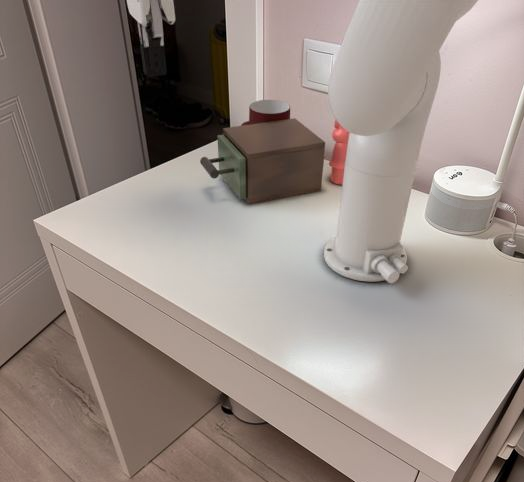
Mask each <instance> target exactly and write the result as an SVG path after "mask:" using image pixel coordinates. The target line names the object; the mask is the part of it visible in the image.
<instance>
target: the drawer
mask: <svg viewBox="0 0 524 482" xmlns="http://www.w3.org/2000/svg"><path fill="white" fill-rule="evenodd" d="M217 155H218V156H217V157H215V158H208V157H207V156H203V157H201V158H200V159H199V163H200V165H201V166H202V167H203V169H204V170H205V171H206V173H207V174H208V175H209V177H210V178H211V179H214V180H215V179H217V178H218V177H219V175H220V176H221V178H222V179H223V180H224V181H225V183H226V184H227V185H228V186H229V188H230V189H231V190H232V192H234V194H235V195H236V196H237V197H238V199H239V200H245V198H246V188H247V176H246V158H245V157H244V156H243V153H242V152H241V151H240V150H239V149H238V148H237V147H236V146H235V144H234V143H233V142H232V143H231V142H230V141H229V140H228V139H227V138H226V137H225V136H224V135H223V134H218V135H217ZM214 163H215V164H216V163H218V169H217V168H216V166H215V165H214Z"/></svg>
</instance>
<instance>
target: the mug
mask: <svg viewBox="0 0 524 482" xmlns="http://www.w3.org/2000/svg"><path fill="white" fill-rule="evenodd" d="M248 107H249V110H248V120H247V121H243V123H241V124H240V126H243V125H250V124H257V123H265V122H272V121H279V120H286V119H291V106H290V104H289V103H287V102H285V101H282V100H279V99H278V100H277V99H261V100H256V101H254V102H251V103H250V104H249V106H248Z"/></svg>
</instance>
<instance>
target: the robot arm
mask: <svg viewBox="0 0 524 482" xmlns="http://www.w3.org/2000/svg"><path fill="white" fill-rule="evenodd" d="M478 1H479V0H359V1H358V3H357V6H356V8H355V10H354V13H353V15H352V17H351V21H350V23H349V25H348V28H347V29H346V32H345V35H344V37H343V40H342V43H341V45H340V48H339V49H338V52H337V55H336V57H335V59H334V61H333V62H334V63H333V65H332V68H331V70H330V71H331V72H330V74H329V79H328V87H327V95H328V96H327V97H328V103H329V108H330V111H331V113H332V115H333V117H334V119H336V120H337V122H338V123H339V124H340V125H341V126H342V127H343V128H344V129H345V130H347V131H348V132H350V133H349V139H348V146H347V154H346V161H345V168H344V177H343V185H342V187H341V195H340V204H339V212H338V221H337V229H336V236H334V237H333V238H331V239H330V240H329V241H328V242H327V243H326V245H325V247H324V252H323V259H324V261H325V263H326V264H327V266H328V267H329V268H330V269H331V270H332V271H334V272H335V273H336V274H338V275H340V276H342V277H345V278H348V279H351V280H354V281H359V282H360V281H361V282H383V281H386V282H387V283H389V284H394V283H396V282H397V281H398V280H399V278H400V274H405V273H406V272H407V271H408V270H409V266H408V265H407V262H408V254H407V252H406V250H405V249H404V246H403V244H401V241H402V235H403V230H404V227H405V222H406V217H407V212H408V208H409V204H410V203H409V202H410V197H411V193H412V188H413V184H414V180H415V175H416V169H417V166H418V161H419V157H420V153H421V148H422V145H423V140H424V136H425V132H426V128H427V125H428V121H429V117H430V114H431V110H432V107H433V104H434V101H435V98H436V94H437V90H438V87H439V82H440V78H441V71H442V70H441V68H442V61H441V53H440V50H441V48H442V46H443V45H444V43H445V41H446V39H447V37H448V36H449V35H450V33H451V30H453V27H454V26H455V24H456V22H458V21H459V20H460V19H461V18H463V17H464V16H465V15H466V14H467V13H469V12H470V11H471V10H472V9H473V8H474V6H475V5H476V4H477V3H478ZM126 5H127V8H128V13H129V15H131V17H132V18H133V19H135V21H136V22H137V29H138V35H139V36H138V37H139V41H140V53H141V61H142V69H143V73H144V75H146V76H147V77H148V78H149V77H157V76H158V77H160V76H166V75H167V72H168V70H167V61H166V60H167V59H166V51H165V41H164V28H163V26H164V25H163V20H164V22H166V23H167V24H169V25H174V24H175V22H176V13H175V5H174V0H126Z"/></svg>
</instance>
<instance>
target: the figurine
mask: <svg viewBox="0 0 524 482" xmlns="http://www.w3.org/2000/svg"><path fill="white" fill-rule="evenodd" d="M334 119H335V118H334ZM333 126H334V129H333V130H332V132H331V137H332V140H333V141H334V142H335V143H334V145H333V149H332V153H331V154H332V155H331V158H330V160H329V162H328V164H329V166H330V167H331V169H330V179H329V180H330V182H331V183H333V184H336V185H340V186H341V185H343V177H344V168H345V161H346V154H347V146H348V139H349V133H350V132H348V131H347V130H345V129H344V128H343V127H342V126H341V125H340V124H339V123H338V122H337V120H336V119H335V120H334V124H333Z"/></svg>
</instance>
